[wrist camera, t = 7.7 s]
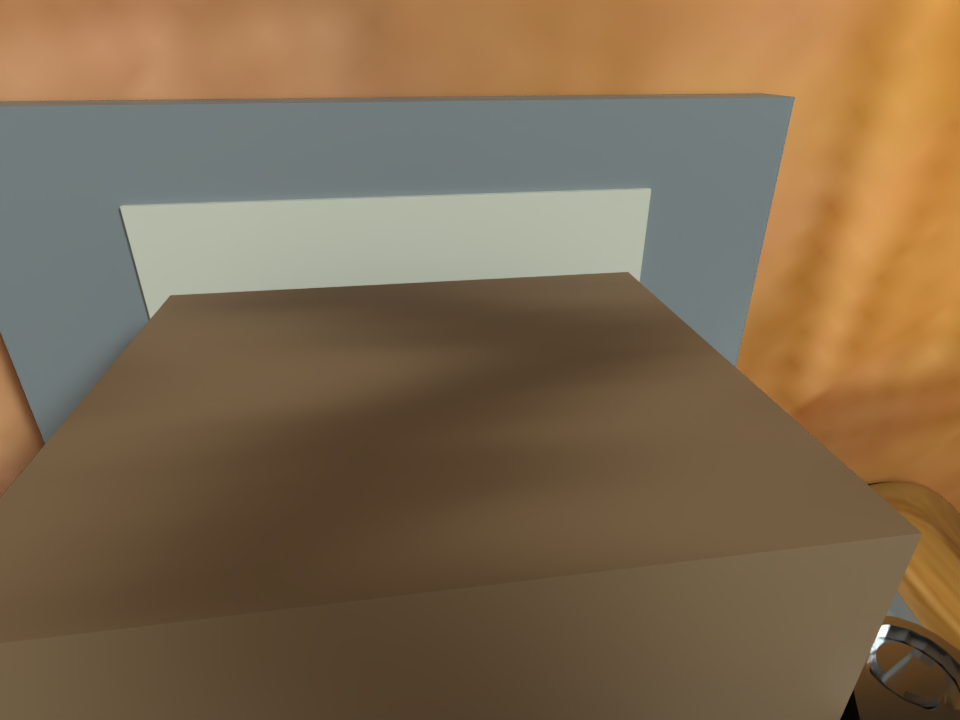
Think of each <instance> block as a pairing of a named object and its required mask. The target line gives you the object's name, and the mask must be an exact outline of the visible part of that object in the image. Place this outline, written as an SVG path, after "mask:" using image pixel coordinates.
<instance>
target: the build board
mask: <svg viewBox="0 0 960 720" xmlns="http://www.w3.org/2000/svg"><path fill="white" fill-rule="evenodd" d="M794 98H795V97H790V96H781V95H772V94H764V93H756V94H662V95H568V96H475V97H381V98H288V99H194V100H100V101H7V102H0V332H1V335H2V337H3V340H4V342H5V345H6V347H7V350H8V352H9V355H10V357H11V360H12V362H13V365H14V367H15V370H16V372H17V375H18V377H19V380H20V382H21V385H22V387H23V390H24V392H25V395H26V397H27V400H28V403H29V405H30V408H31V410H32V413H33V415H34V418H35V420H36V423H37V425H38V428H39V430H40V433H41V435H42V438H43V440H44V443H45V444H46V443H47V442H48V440H49V439H50V438H51V437H52V436H53V434H54V433H55V432H56V431H57V430H58V428H59V427H60V426H61V425H62V424H63V422H64V421H65V420H66V419H67V418H68V417H69V415H70V414H71V413H72V412H73V411H74V409H75V408H76V407H77V406H78V405H79V403H80V402H81V401H82V400H83V399H84V397H85V396H86V395H87V394H88V393H89V392H90V390H91V389H92V388H93V387H94V386H95V384H96V383H97V382H98V381H99V380H100V378H101V377H102V376H103V375H104V374H105V372H106V371H107V370H108V369H109V368H110V367H111V365H112V364H113V363H114V362H115V361H116V359H117V358H118V357H119V356H120V355H121V353H122V352H123V351H124V350H125V349H126V347H127V346H128V345H129V344H130V343H131V342H132V340H133V339H134V338H135V337H136V336H137V334H138V333H139V332H140V331H141V330H142V328H143V327H144V326H145V325H146V324H147V322H148V321H149V320H150V319H151V318H152V317H153V315H154V314H155V313H156V312H157V311H158V309H159V308H160V307H161V306H162V305H163V303H164V302H165V301H166V300H167V299H168V297H169V296H170V295H185V294H205V293H225V292H244V291H264V290H283V289H303V288H323V287H342V286H362V285H381V284H401V283H421V282H440V281H460V280H479V279H499V278H519V277H538V276H558V275H577V274H597V273H617V272H629V273H630V274H631V275H632V276H633V277H634V278H635V279H637V280H638V281H639V282H640V283H641V284H642V285H643V286H644V287H646V288H647V289H648V290H649V291H650V292H651V293H652V294H654V295H655V296H656V297H657V298H658V299H659V300H660V301H661V302H663V303H664V304H665V305H666V306H667V307H668V308H669V309H670V310H672V311H673V312H674V313H675V314H676V315H677V316H678V317H679V318H681V319H682V320H683V321H684V322H685V323H686V324H687V325H688V326H690V327H691V328H692V329H693V330H694V331H695V332H696V333H697V334H699V335H700V336H701V337H702V338H703V339H704V340H705V341H706V342H708V343H709V344H710V345H711V346H712V347H713V348H714V349H715V350H717V351H718V352H719V353H720V354H721V355H722V356H723V357H724V358H726V359H727V360H728V361H729V362H730V363H731V364H732V365H733V366H735V367H736V363H737V359H738V354H739V350H740V345H741V340H742V336H743V331H744V327H745V322H746V318H747V313H748V309H749V304H750V299H751V295H752V290H753V286H754V281H755V277H756V272H757V267H758V263H759V258H760V254H761V249H762V245H763V240H764V235H765V231H766V226H767V222H768V217H769V213H770V208H771V203H772V199H773V194H774V190H775V185H776V181H777V176H778V171H779V167H780V162H781V158H782V153H783V149H784V144H785V140H786V135H787V130H788V126H789V121H790V117H791V112H792V108H793V103H794Z"/></svg>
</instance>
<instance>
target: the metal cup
mask: <svg viewBox="0 0 960 720" xmlns="http://www.w3.org/2000/svg"><path fill="white" fill-rule="evenodd" d="M869 486H870V487H871V488H872V489H873V490H874V491H875V492H876V493H878V494H879V495H880V496H881V497H882V498H883V499H884V500H885V501H887V502H888V503H889V504H890V505H891V506H892V507H893V508H894V509H896V510H897V511H898V512H899V513H900V514H901V515H902V516H903V517H905V518H906V519H907V520H908V521H909V522H910V523H911V524H912V525H914V526H915V527H916V528H917V529H918V530H919V531H920V532H921V533H922V535H921V537H920V540H919V542H918V544H917V547H916V549H915V551H914V553H913V556H912V558H911V560H910V562H909V565H908V567H907V569H906V571H905V574H904V576H903V578H902V581H901V583H900V585H899V587H898V590H897V592H896V594H895V596H894V599H893V601H892V603H891V605H890V608H889V610H888V612H887V615H886V616H892V617H898V618H901V619H904V620H907V621H910V622H913V623H916V624H918V625H920V626H922V627H924V628H926V629H928V630H930V631H932V632H934V633H936V634H937V635H939V636H940V637H942V638H943V639H945V640H946V641H947V642H949V643H950V644H951V645H953V646H954V647H955V648H957V649H958V650H959V651H960V513H959V512H958V511H957V510H956V508H955V507H954V506H953V505H952V504H951V503H950V502H948V501H947V500H946V499H945V498H944V497H943V496H942V495H940V494H939V493H937V492H935V491H933V490H932V489H930V488H928V487H925V486H923V485H919V484H915V483H910V482H885V483H877V484H872V485H869Z"/></svg>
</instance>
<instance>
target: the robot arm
mask: <svg viewBox="0 0 960 720" xmlns="http://www.w3.org/2000/svg"><path fill="white" fill-rule="evenodd" d="M840 720H960V651H959V650H958V649H957V648H955V647H954V646H953V645H951V644H950V643H949V642H947V641H946V640H945V639H943V638H942V637H940V636H939V635H937V634H936V633H934V632H932V631H930V630H928V629H926V628H924V627H922V626H920V625H918V624H916V623H913V622H910V621H907V620H904V619H901V618H898V617H892V616H886V617H885V619H884V621H883V624H882V626H881V628H880V630H879V633H878V635H877V637H876V639H875V642H874V644H873V646H872V649H871V651H870V653H869V655H868V658H867V660H866V662H865V664H864V667H863V669H862V671H861V673H860V676H859V678H858V680H857V683H856V685H855V687H854V689H853V692H852V694H851V696H850V698H849V701H848V703H847V705H846V707H845V710H844V712H843V714H842V716H841V719H840Z"/></svg>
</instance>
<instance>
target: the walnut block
mask: <svg viewBox="0 0 960 720" xmlns="http://www.w3.org/2000/svg"><path fill="white" fill-rule="evenodd" d="M921 535H922V533H921V532H920V531H919V530H918V529H917V528H916V527H915V526H914V525H912V524H911V523H910V522H909V521H908V520H907V519H906V518H905V517H903V516H902V515H901V514H900V513H899V512H898V511H897V510H896V509H894V508H893V507H892V506H891V505H890V504H889V503H888V502H887V501H885V500H884V499H883V498H882V497H881V496H880V495H879V494H878V493H876V492H875V491H874V490H873V489H872V488H871V487H870V486H869V485H867V484H866V483H865V482H864V481H863V480H862V479H861V478H860V477H858V476H857V475H856V474H855V473H854V472H853V471H852V470H851V469H849V468H848V467H847V466H846V465H845V464H844V463H843V462H842V461H840V460H839V459H838V458H837V457H836V456H835V455H834V454H833V453H831V452H830V451H829V450H828V449H827V448H826V447H825V446H824V445H822V444H821V443H820V442H819V441H818V440H817V439H816V438H815V437H813V436H812V435H811V434H810V433H809V432H808V431H807V430H806V429H804V428H803V427H802V426H801V425H800V424H799V423H798V422H797V421H795V420H794V419H793V418H792V417H791V416H790V415H789V414H787V413H786V412H785V411H784V410H783V409H782V408H781V407H780V406H778V405H777V404H776V403H775V402H774V401H773V400H772V399H771V398H769V397H768V396H767V395H766V394H765V393H764V392H763V391H762V390H760V389H759V388H758V387H757V386H756V385H755V384H754V383H753V382H751V381H750V380H749V379H748V378H747V377H746V376H745V375H744V374H742V373H741V372H740V371H739V370H738V369H737V368H736V367H735V366H733V365H732V364H731V363H730V362H729V361H728V360H727V359H726V358H724V357H723V356H722V355H721V354H720V353H719V352H718V351H717V350H715V349H714V348H713V347H712V346H711V345H710V344H709V343H708V342H706V341H705V340H704V339H703V338H702V337H701V336H700V335H699V334H697V333H696V332H695V331H694V330H693V329H692V328H691V327H690V326H688V325H687V324H686V323H685V322H684V321H683V320H682V319H681V318H679V317H678V316H677V315H676V314H675V313H674V312H673V311H672V310H670V309H669V308H668V307H667V306H666V305H665V304H664V303H663V302H661V301H660V300H659V299H658V298H657V297H656V296H655V295H654V294H652V293H651V292H650V291H649V290H648V289H647V288H646V287H644V286H643V285H642V284H641V283H640V282H639V281H638V280H637V279H635V278H634V277H633V276H632V275H631V274H630V273H629V272H617V273H597V274H577V275H558V276H538V277H519V278H499V279H479V280H460V281H440V282H421V283H401V284H381V285H362V286H342V287H323V288H303V289H283V290H264V291H244V292H225V293H205V294H185V295H170V296H169V297H168V299H167V300H166V301H165V302H164V303H163V305H162V306H161V307H160V308H159V309H158V311H157V312H156V313H155V314H154V315H153V317H152V318H151V319H150V320H149V321H148V322H147V324H146V325H145V326H144V327H143V328H142V330H141V331H140V332H139V333H138V334H137V336H136V337H135V338H134V339H133V340H132V342H131V343H130V344H129V345H128V346H127V347H126V349H125V350H124V351H123V352H122V353H121V355H120V356H119V357H118V358H117V359H116V361H115V362H114V363H113V364H112V365H111V367H110V368H109V369H108V370H107V371H106V372H105V374H104V375H103V376H102V377H101V378H100V380H99V381H98V382H97V383H96V384H95V386H94V387H93V388H92V389H91V390H90V392H89V393H88V394H87V395H86V396H85V397H84V399H83V400H82V401H81V402H80V403H79V405H78V406H77V407H76V408H75V409H74V411H73V412H72V413H71V414H70V415H69V417H68V418H67V419H66V420H65V421H64V422H63V424H62V425H61V426H60V427H59V428H58V430H57V431H56V432H55V433H54V434H53V436H52V437H51V438H50V439H49V440H48V442H47V443H46V444H45V445H44V446H43V447H42V449H41V450H40V451H39V452H38V453H37V455H36V456H35V457H34V458H33V459H32V461H31V462H30V463H29V464H28V465H27V467H26V468H25V469H24V470H23V471H22V472H21V474H20V475H19V476H18V477H17V478H16V480H15V481H14V482H13V483H12V484H11V486H10V487H9V488H8V489H7V490H6V492H5V493H4V494H3V495H2V496H1V497H0V720H840V719H841V716H842V714H843V712H844V710H845V707H846V705H847V703H848V701H849V698H850V696H851V694H852V692H853V689H854V687H855V685H856V683H857V680H858V678H859V676H860V673H861V671H862V669H863V667H864V664H865V662H866V660H867V658H868V655H869V653H870V651H871V649H872V646H873V644H874V642H875V639H876V637H877V635H878V633H879V630H880V628H881V626H882V624H883V621H884V619H885V617H886V615H887V612H888V610H889V608H890V605H891V603H892V601H893V599H894V596H895V594H896V592H897V590H898V587H899V585H900V583H901V581H902V578H903V576H904V574H905V571H906V569H907V567H908V565H909V562H910V560H911V558H912V556H913V553H914V551H915V549H916V547H917V544H918V542H919V540H920V537H921Z"/></svg>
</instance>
